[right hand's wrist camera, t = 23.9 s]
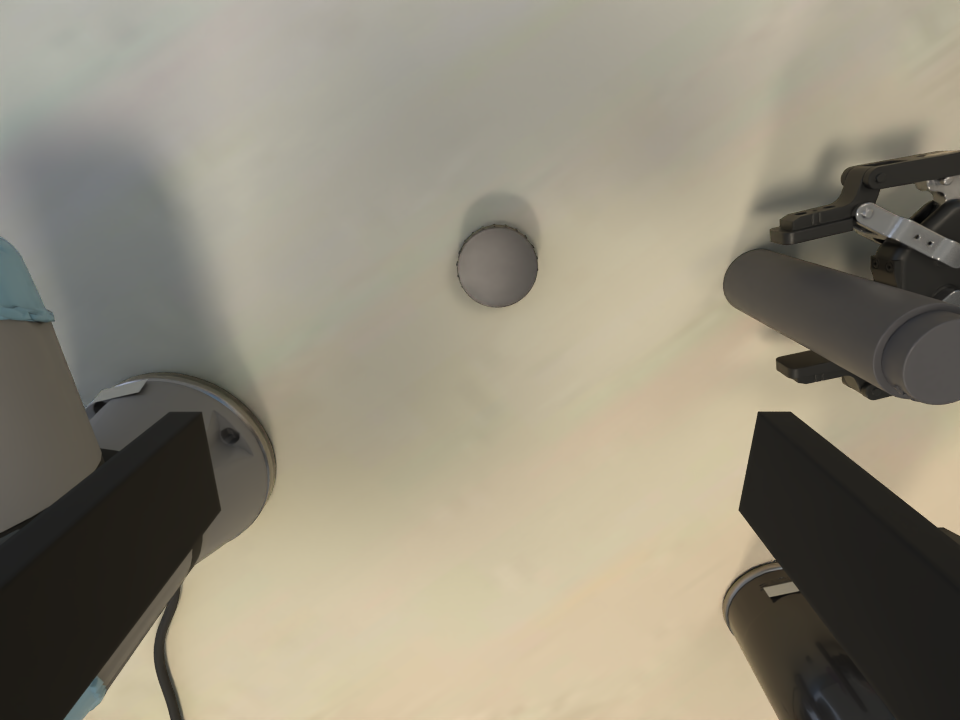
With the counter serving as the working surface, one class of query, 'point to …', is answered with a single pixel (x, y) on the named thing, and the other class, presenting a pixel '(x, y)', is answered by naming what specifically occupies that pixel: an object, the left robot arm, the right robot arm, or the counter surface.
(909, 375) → the dark grey cylinder
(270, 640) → the counter surface
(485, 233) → the lid
